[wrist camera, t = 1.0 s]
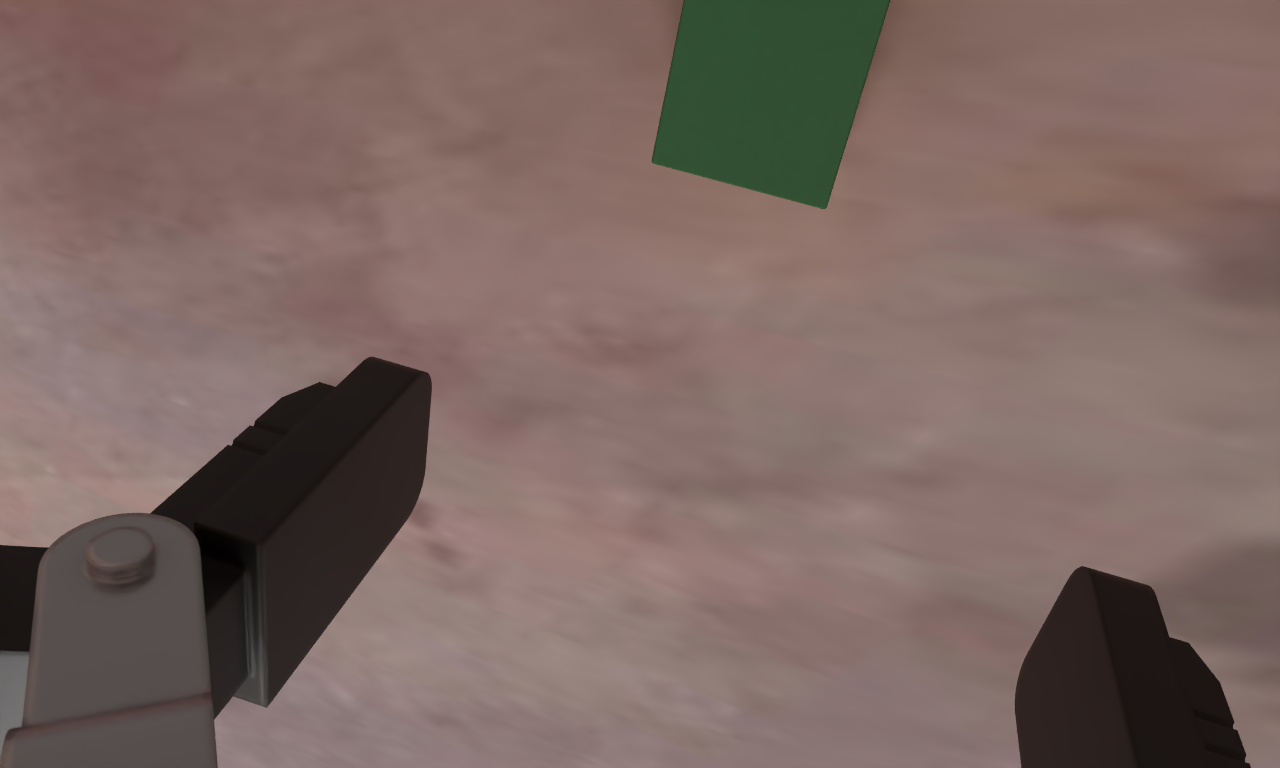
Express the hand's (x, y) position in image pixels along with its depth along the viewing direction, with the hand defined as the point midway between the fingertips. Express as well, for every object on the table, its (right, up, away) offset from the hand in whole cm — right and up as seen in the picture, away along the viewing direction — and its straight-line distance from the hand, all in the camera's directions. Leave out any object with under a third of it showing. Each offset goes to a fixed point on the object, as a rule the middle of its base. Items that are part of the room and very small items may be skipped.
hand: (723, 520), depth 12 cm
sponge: (+3, +11, +14) cm, 18 cm away
